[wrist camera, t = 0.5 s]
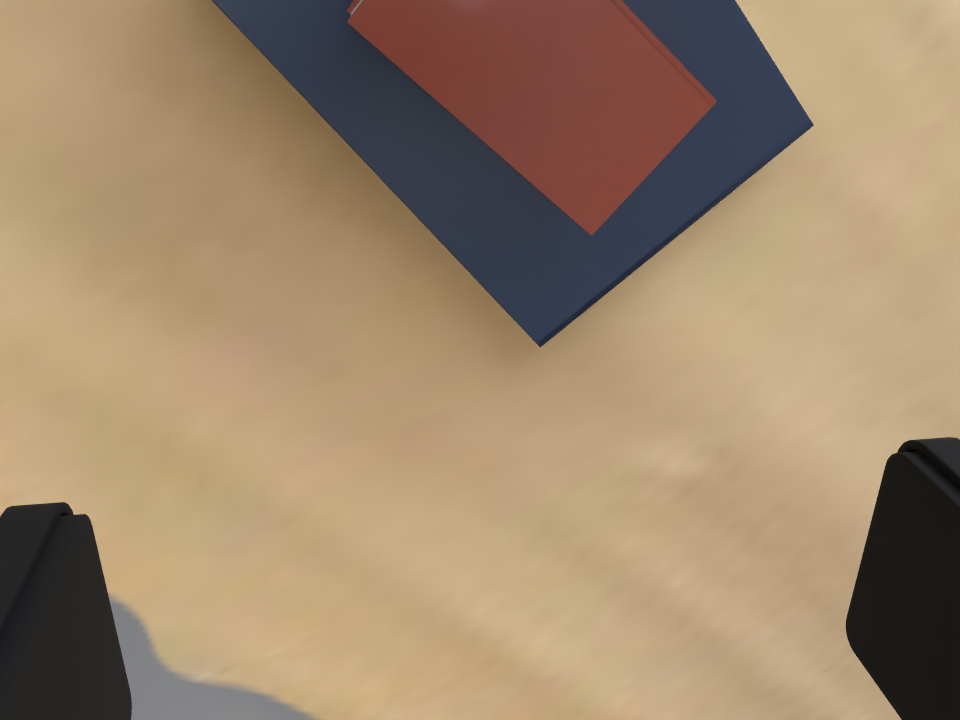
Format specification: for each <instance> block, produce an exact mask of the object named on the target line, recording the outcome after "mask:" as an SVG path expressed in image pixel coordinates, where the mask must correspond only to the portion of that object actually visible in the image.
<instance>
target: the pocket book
mask: <svg viewBox="0 0 960 720" xmlns="http://www.w3.org/2000/svg"><path fill="white" fill-rule="evenodd" d="M347 12H348V13H349V14H350V15H351V17H350V18H349V19H348V21H347V22H348V24H350V25H351V26H352V27H353V28H354V29H355V30H356V31H358V32H359V33H360V34H361V35H362V36H363V37H364V38H366V39H367V40H368V41H369V42H370V43H371V44H372V45H374V46H375V47H376V48H377V49H378V50H379V51H380V52H382V53H383V54H384V55H385V56H386V57H387V58H388V59H390V60H391V61H392V62H393V63H394V64H395V65H396V66H398V67H399V68H400V69H401V70H402V71H403V72H404V73H406V74H407V75H408V76H409V77H410V78H411V79H412V80H414V81H415V82H416V83H417V84H418V85H419V86H420V87H422V88H423V89H424V90H425V91H426V92H427V93H428V94H430V95H431V96H432V97H433V98H434V99H435V100H436V101H438V102H439V103H440V104H441V105H442V106H443V107H444V108H446V109H447V110H448V111H449V112H450V113H451V114H452V115H454V116H455V117H456V118H457V119H458V120H459V121H460V122H462V123H463V124H464V125H465V126H466V127H467V128H468V129H470V130H471V131H472V132H473V133H474V134H475V135H476V136H478V137H479V138H480V139H481V140H482V141H483V142H484V143H486V144H487V145H488V146H489V147H490V148H491V149H492V150H494V151H495V152H496V153H497V154H498V155H499V156H500V157H502V158H503V159H504V160H505V161H506V162H507V163H508V164H510V165H511V166H512V167H513V168H514V169H515V170H516V171H518V172H519V173H520V174H521V175H522V176H523V177H524V178H526V179H527V180H528V181H529V182H530V183H531V184H532V185H534V186H535V187H536V188H537V189H538V190H539V191H540V192H542V193H543V194H544V195H545V196H546V197H547V198H548V199H550V200H551V201H552V202H553V203H554V204H555V205H556V206H558V207H559V208H560V209H561V210H562V211H563V212H564V213H566V214H567V215H568V216H569V217H570V218H571V219H572V220H574V221H575V222H576V223H577V224H578V225H579V226H580V227H582V228H583V229H584V230H585V231H586V232H587V233H588V234H590V235H591V236H592V235H593V234H594V233H595V232H596V231H597V230H598V229H599V227H600V226H601V225H602V224H603V223H604V222H605V221H606V220H607V219H608V218H609V217H610V216H611V215H612V214H613V212H614V211H615V210H616V209H617V208H618V207H619V206H620V205H621V204H622V203H623V202H624V201H625V200H626V199H627V198H628V196H629V195H630V194H631V193H632V192H633V191H634V190H635V189H636V188H637V187H638V186H639V185H640V184H641V183H642V181H643V180H644V179H645V178H646V177H647V176H648V175H649V174H650V173H651V172H652V171H653V170H654V169H655V168H656V167H657V165H658V164H659V163H660V162H661V161H662V160H663V159H664V158H665V157H666V156H667V155H668V154H669V153H670V152H671V150H672V149H673V148H674V147H675V146H676V145H677V144H678V143H679V142H680V141H681V140H682V139H683V138H684V137H685V135H686V134H687V133H688V132H689V131H690V130H691V129H692V128H693V127H694V126H695V125H696V124H697V123H698V122H699V121H700V119H701V118H702V117H703V116H704V115H705V114H706V113H707V112H708V111H709V110H710V109H711V108H712V107H713V106H714V104H715V103H716V102H717V100H716V99H715V98H714V97H713V96H712V95H711V94H710V93H709V92H708V91H707V90H706V89H705V88H704V87H703V85H702V84H701V83H700V82H699V81H698V80H697V79H696V78H695V77H694V76H693V75H692V74H691V73H690V72H689V71H688V70H687V69H686V68H685V66H684V65H683V64H682V63H681V62H680V61H679V60H678V59H677V58H676V57H675V56H674V55H673V54H672V53H671V52H670V51H669V50H668V49H667V48H666V46H665V45H664V44H663V43H662V42H661V41H660V40H659V39H658V38H657V37H656V36H655V35H654V34H653V33H652V32H651V31H650V30H649V29H648V28H647V26H646V25H645V24H644V23H643V22H642V21H641V20H640V19H639V18H638V17H637V16H636V15H635V14H634V13H633V12H632V11H631V10H630V9H629V8H628V6H627V5H626V4H625V3H624V2H623V1H622V0H354V1H353V2H352V3H351V5H350V6H349V7H348V8H347Z"/></svg>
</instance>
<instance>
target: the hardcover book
mask: <svg viewBox="0 0 960 720" xmlns="http://www.w3.org/2000/svg"><path fill="white" fill-rule="evenodd" d="M212 1H213V2H214V3H215V4H216V5H217V6H218V7H219V8H220V9H221V11H222V12H223V13H224V14H225V15H226V16H227V17H228V18H229V19H230V20H231V21H232V22H233V23H234V24H235V25H236V26H237V27H238V28H239V30H240V31H241V32H242V33H243V34H244V35H245V36H246V37H247V38H248V39H249V40H250V41H251V42H252V43H253V44H254V45H255V46H256V48H257V49H258V50H259V51H260V52H261V53H262V54H263V55H264V56H265V57H266V58H267V59H268V60H269V61H270V62H271V63H272V64H273V65H274V67H275V68H276V69H277V70H278V71H279V72H280V73H281V74H282V75H283V76H284V77H285V78H286V79H287V80H288V81H289V82H290V83H291V84H292V86H293V87H294V88H295V89H296V90H297V91H298V92H299V93H300V94H301V95H302V96H303V97H304V98H305V99H306V100H307V101H308V102H309V104H310V105H311V106H312V107H313V108H314V109H315V110H316V111H317V112H318V113H319V114H320V115H321V116H322V117H323V118H324V119H325V120H326V121H327V123H328V124H329V125H330V126H331V127H332V128H333V129H334V130H335V131H336V132H337V133H338V134H339V135H340V136H341V137H342V138H343V139H344V141H345V142H346V143H347V144H348V145H349V146H350V147H351V148H352V149H353V150H354V151H355V152H356V153H357V154H358V155H359V156H360V157H361V158H362V160H363V161H364V162H365V163H366V164H367V165H368V166H369V167H370V168H371V169H372V170H373V171H374V172H375V173H376V174H377V175H378V176H379V177H380V179H381V180H382V181H383V182H384V183H385V184H386V185H387V186H388V187H389V188H390V189H391V190H392V191H393V192H394V193H395V194H396V195H397V197H398V198H399V199H400V200H401V201H402V202H403V203H404V204H405V205H406V206H407V207H408V208H409V209H410V210H411V211H412V212H413V213H414V214H415V216H416V217H417V218H418V219H419V220H420V221H421V222H422V223H423V224H424V225H425V226H426V227H427V228H428V229H429V230H430V231H431V232H432V234H433V235H434V236H435V237H436V238H437V239H438V240H439V241H440V242H441V243H442V244H443V245H444V246H445V247H446V248H447V249H448V250H449V251H450V253H451V254H452V255H453V256H454V257H455V258H456V259H457V260H458V261H459V262H460V263H461V264H462V265H463V266H464V267H465V268H466V269H467V270H468V272H469V273H470V274H471V275H472V276H473V277H474V278H475V279H476V280H477V281H478V282H479V283H480V284H481V285H482V286H483V287H484V288H485V290H486V291H487V292H488V293H489V294H490V295H491V296H492V297H493V298H494V299H495V300H496V301H497V302H498V303H499V304H500V305H501V306H502V307H503V309H504V310H505V311H506V312H507V313H508V314H509V315H510V316H511V317H512V318H513V319H514V320H515V321H516V322H517V323H518V324H519V325H520V327H521V328H522V329H523V330H524V331H525V332H526V333H527V334H528V335H529V336H530V337H531V338H532V339H533V340H534V341H535V342H536V343H537V344H538V346H539V347H541V346H543V345H544V344H545V343H546V342H547V341H549V340H550V339H551V338H552V337H554V336H555V335H556V334H557V333H559V332H560V331H561V330H562V329H564V328H565V327H566V326H567V325H568V324H570V323H571V322H572V321H573V320H575V319H576V318H577V317H578V316H580V315H581V314H582V313H583V312H584V311H586V310H587V309H588V308H589V307H591V306H592V305H593V304H594V303H596V302H597V301H598V300H599V299H600V298H602V297H603V296H604V295H605V294H607V293H608V292H609V291H610V290H612V289H613V288H614V287H615V286H616V285H618V284H619V283H620V282H621V281H623V280H624V279H625V278H626V277H628V276H629V275H630V274H631V273H633V272H634V271H635V270H636V269H637V268H639V267H640V266H641V265H642V264H644V263H645V262H646V261H647V260H649V259H650V258H651V257H652V256H653V255H655V254H656V253H657V252H658V251H660V250H661V249H662V248H663V247H665V246H666V245H667V244H668V243H669V242H671V241H672V240H673V239H674V238H676V237H677V236H678V235H679V234H681V233H682V232H683V231H684V230H685V229H687V228H688V227H689V226H690V225H692V224H693V223H694V222H695V221H697V220H698V219H699V218H700V217H701V216H703V215H704V214H705V213H706V212H708V211H709V210H710V209H711V208H713V207H714V206H715V205H716V204H718V203H719V202H720V201H721V200H722V199H724V198H725V197H726V196H727V195H729V194H730V193H731V192H732V191H734V190H735V189H736V188H737V187H738V186H740V185H741V184H742V183H743V182H745V181H746V180H747V179H748V178H750V177H751V176H752V175H753V174H754V173H756V172H757V171H758V170H759V169H761V168H762V167H763V166H764V165H766V164H767V163H768V162H769V161H770V160H772V159H773V158H774V157H775V156H777V155H778V154H779V153H780V152H782V151H783V150H784V149H785V148H787V147H788V146H789V145H790V144H791V143H793V142H794V141H795V140H796V139H798V138H799V137H800V136H801V135H803V134H804V133H805V132H806V131H807V130H809V129H810V128H811V127H812V126H813V123H812V122H811V120H810V119H809V117H808V115H807V114H806V112H805V111H804V109H803V107H802V106H801V104H800V103H799V101H798V100H797V98H796V96H795V95H794V93H793V92H792V90H791V88H790V87H789V85H788V84H787V82H786V80H785V79H784V77H783V76H782V74H781V73H780V71H779V69H778V68H777V66H776V65H775V63H774V61H773V60H772V58H771V57H770V55H769V53H768V52H767V50H766V49H765V47H764V45H763V44H762V42H761V41H760V39H759V38H758V36H757V34H756V33H755V31H754V30H753V28H752V26H751V25H750V23H749V22H748V20H747V18H746V17H745V15H744V14H743V12H742V11H741V9H740V7H739V6H738V4H737V3H736V1H735V0H622V1H623V2H624V3H625V4H626V5H627V6H628V8H629V9H630V10H631V11H632V12H633V13H634V14H635V15H636V16H637V17H638V18H639V19H640V20H641V21H642V22H643V23H644V24H645V25H646V26H647V28H648V29H649V30H650V31H651V32H652V33H653V34H654V35H655V36H656V37H657V38H658V39H659V40H660V41H661V42H662V43H663V44H664V45H665V46H666V48H667V49H668V50H669V51H670V52H671V53H672V54H673V55H674V56H675V57H676V58H677V59H678V60H679V61H680V62H681V63H682V64H683V65H684V66H685V68H686V69H687V70H688V71H689V72H690V73H691V74H692V75H693V76H694V77H695V78H696V79H697V80H698V81H699V82H700V83H701V84H702V85H703V87H704V88H705V89H706V90H707V91H708V92H709V93H710V94H711V95H712V96H713V97H714V98H715V99H716V100H717V102H716V103H715V104H714V106H713V107H712V108H711V109H710V110H709V111H708V112H707V113H706V114H705V115H704V116H703V117H702V118H701V119H700V121H699V122H698V123H697V124H696V125H695V126H694V127H693V128H692V129H691V130H690V131H689V132H688V133H687V134H686V135H685V137H684V138H683V139H682V140H681V141H680V142H679V143H678V144H677V145H676V146H675V147H674V148H673V149H672V150H671V152H670V153H669V154H668V155H667V156H666V157H665V158H664V159H663V160H662V161H661V162H660V163H659V164H658V165H657V167H656V168H655V169H654V170H653V171H652V172H651V173H650V174H649V175H648V176H647V177H646V178H645V179H644V180H643V181H642V183H641V184H640V185H639V186H638V187H637V188H636V189H635V190H634V191H633V192H632V193H631V194H630V195H629V196H628V198H627V199H626V200H625V201H624V202H623V203H622V204H621V205H620V206H619V207H618V208H617V209H616V210H615V211H614V212H613V214H612V215H611V216H610V217H609V218H608V219H607V220H606V221H605V222H604V223H603V224H602V225H601V226H600V227H599V229H598V230H597V231H596V232H595V233H594V234H593V235H592V236H591V235H590V234H588V233H587V232H586V231H585V230H584V229H583V228H582V227H580V226H579V225H578V224H577V223H576V222H575V221H574V220H572V219H571V218H570V217H569V216H568V215H567V214H566V213H564V212H563V211H562V210H561V209H560V208H559V207H558V206H556V205H555V204H554V203H553V202H552V201H551V200H550V199H548V198H547V197H546V196H545V195H544V194H543V193H542V192H540V191H539V190H538V189H537V188H536V187H535V186H534V185H532V184H531V183H530V182H529V181H528V180H527V179H526V178H524V177H523V176H522V175H521V174H520V173H519V172H518V171H516V170H515V169H514V168H513V167H512V166H511V165H510V164H508V163H507V162H506V161H505V160H504V159H503V158H502V157H500V156H499V155H498V154H497V153H496V152H495V151H494V150H492V149H491V148H490V147H489V146H488V145H487V144H486V143H484V142H483V141H482V140H481V139H480V138H479V137H478V136H476V135H475V134H474V133H473V132H472V131H471V130H470V129H468V128H467V127H466V126H465V125H464V124H463V123H462V122H460V121H459V120H458V119H457V118H456V117H455V116H454V115H452V114H451V113H450V112H449V111H448V110H447V109H446V108H444V107H443V106H442V105H441V104H440V103H439V102H438V101H436V100H435V99H434V98H433V97H432V96H431V95H430V94H428V93H427V92H426V91H425V90H424V89H423V88H422V87H420V86H419V85H418V84H417V83H416V82H415V81H414V80H412V79H411V78H410V77H409V76H408V75H407V74H406V73H404V72H403V71H402V70H401V69H400V68H399V67H398V66H396V65H395V64H394V63H393V62H392V61H391V60H390V59H388V58H387V57H386V56H385V55H384V54H383V53H382V52H380V51H379V50H378V49H377V48H376V47H375V46H374V45H372V44H371V43H370V42H369V41H368V40H367V39H366V38H364V37H363V36H362V35H361V34H360V33H359V32H358V31H356V30H355V29H354V28H353V27H352V26H351V25H350V24H348V22H347V21H348V19H349V18H350V17H351V15H350V14H349V13H348V12H347V8H348V7H349V6H350V5H351V3H352V2H353V1H354V0H212Z"/></svg>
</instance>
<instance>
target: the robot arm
mask: <svg viewBox="0 0 960 720" xmlns="http://www.w3.org/2000/svg"><path fill="white" fill-rule="evenodd" d="M846 633H847V637H848V641H849V643H850V646H851V648H852V650H853V651H854V653H855V654H856V656H857V657H858V659H859V660H860V661H861V663H862V664H863V666H864V667H865V668H866V670H867V671H868V673H869V674H870V676H871V677H872V678H873V680H874V681H875V683H876V684H877V685H878V687H879V688H880V690H881V691H882V692H883V694H884V695H885V697H886V698H887V699H888V701H889V702H890V704H891V705H892V707H893V708H894V709H895V711H896V712H897V714H898V715H899V716H900V718H901V719H902V720H960V440H959V439H958V438H951V437H947V438H934V439H920V440H909V441H907V442H905V443H903V444H902V446H901V447H900V448H899V450H898V452H897V453H895V454H893V455H891V456H890V457H889V459H888V460H887V463H886V466H885V470H884V473H883V477H882V481H881V485H880V489H879V493H878V497H877V501H876V505H875V509H874V513H873V517H872V520H871V524H870V528H869V532H868V536H867V540H866V544H865V548H864V552H863V556H862V560H861V564H860V568H859V571H858V575H857V579H856V583H855V587H854V591H853V595H852V599H851V603H850V607H849V611H848V615H847V619H846ZM131 709H132V703H131V694H130V688H129V684H128V679H127V675H126V672H125V667H124V663H123V658H122V653H121V649H120V645H119V640H118V636H117V632H116V627H115V623H114V619H113V614H112V610H111V605H110V601H109V597H108V592H107V588H106V584H105V579H104V575H103V571H102V566H101V562H100V558H99V553H98V549H97V545H96V540H95V536H94V532H93V527H92V524H91V521H90V519H89V517H88V516H87V515H85V514H80V515H73V512H72V509H71V508H70V506H69V505H68V504H67V503H65V502H61V503H47V504H34V505H20V506H11V507H8V508H7V509H6V510H5V511H4V512H3V514H2V515H1V517H0V720H131Z"/></svg>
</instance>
